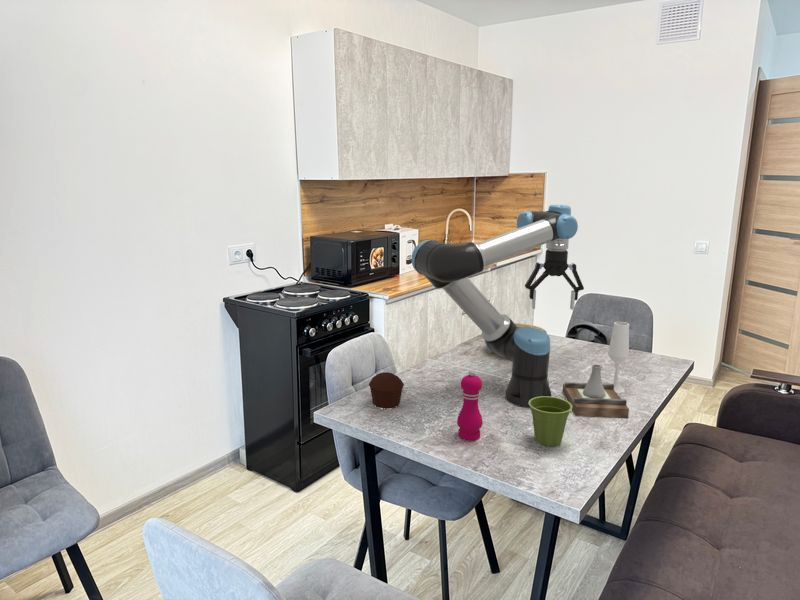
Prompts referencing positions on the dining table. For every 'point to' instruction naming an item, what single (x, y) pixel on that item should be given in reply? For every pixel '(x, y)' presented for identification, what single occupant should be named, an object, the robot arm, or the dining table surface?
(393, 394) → the muffin
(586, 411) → the dock
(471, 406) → the pepper mill
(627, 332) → the champagne flute
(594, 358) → the dining table surface
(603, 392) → the flask
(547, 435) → the plant pot
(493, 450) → the dining table surface
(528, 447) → the dining table surface
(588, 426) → the dining table surface
